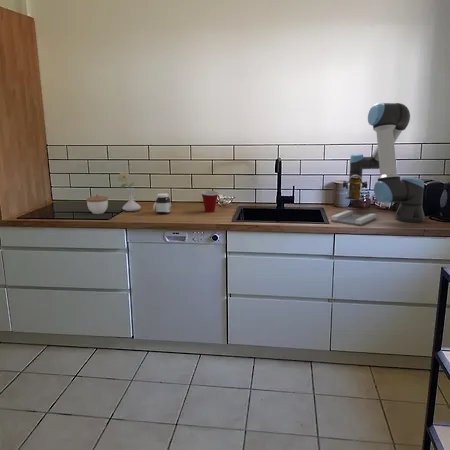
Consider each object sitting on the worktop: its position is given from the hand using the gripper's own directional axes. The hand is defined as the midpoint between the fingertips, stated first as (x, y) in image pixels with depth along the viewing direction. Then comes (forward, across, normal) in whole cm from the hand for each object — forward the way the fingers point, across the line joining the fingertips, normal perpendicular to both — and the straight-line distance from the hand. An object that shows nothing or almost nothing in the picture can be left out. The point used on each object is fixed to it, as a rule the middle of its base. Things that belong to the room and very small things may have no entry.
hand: (354, 187), depth 252 cm
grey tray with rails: (+3, 0, -18) cm, 18 cm away
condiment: (-5, +1, -7) cm, 9 cm away
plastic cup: (-1, +85, -18) cm, 87 cm away
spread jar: (+9, +113, -18) cm, 114 cm away
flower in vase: (+8, +134, -18) cm, 136 cm away
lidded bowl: (+19, +151, -18) cm, 153 cm away
